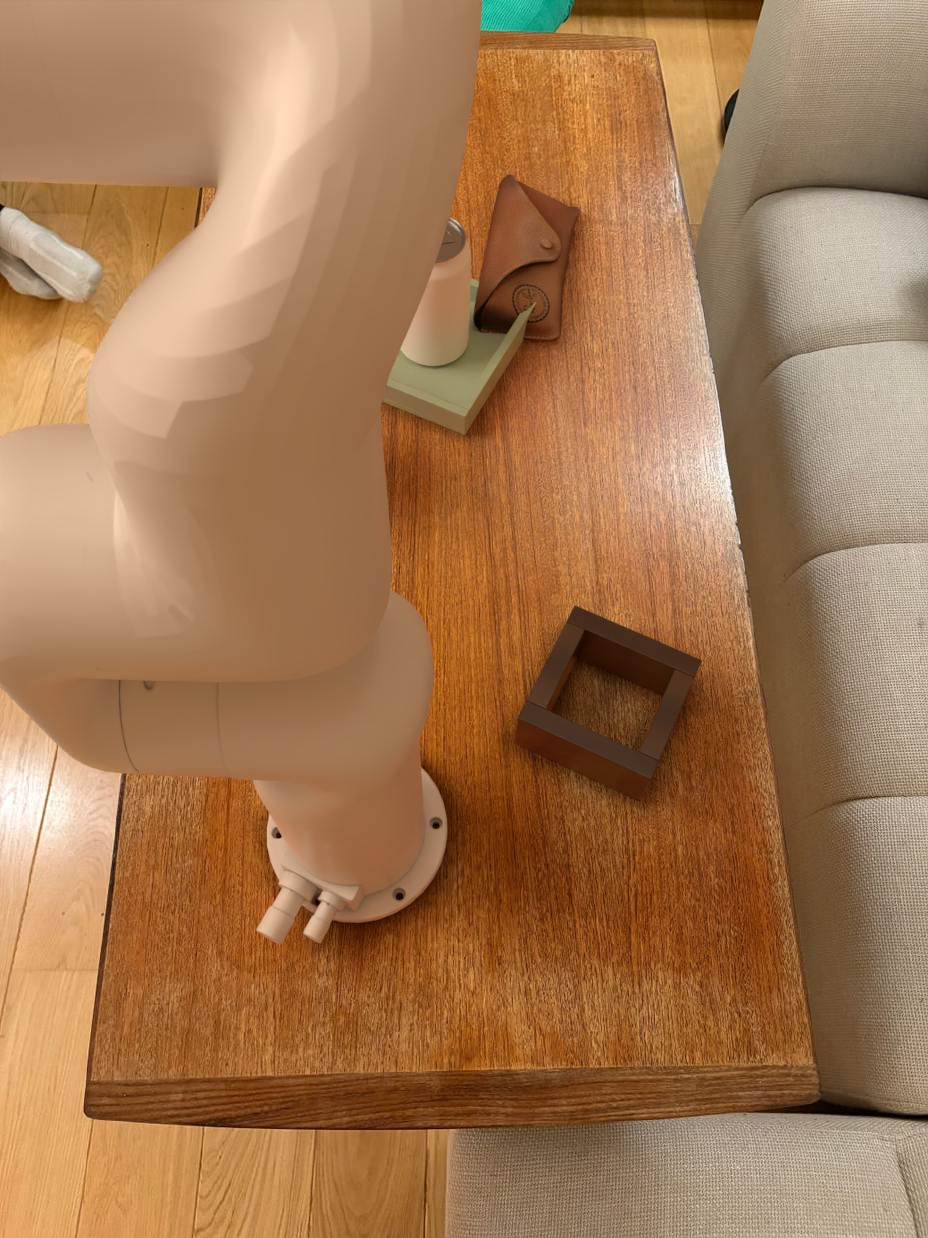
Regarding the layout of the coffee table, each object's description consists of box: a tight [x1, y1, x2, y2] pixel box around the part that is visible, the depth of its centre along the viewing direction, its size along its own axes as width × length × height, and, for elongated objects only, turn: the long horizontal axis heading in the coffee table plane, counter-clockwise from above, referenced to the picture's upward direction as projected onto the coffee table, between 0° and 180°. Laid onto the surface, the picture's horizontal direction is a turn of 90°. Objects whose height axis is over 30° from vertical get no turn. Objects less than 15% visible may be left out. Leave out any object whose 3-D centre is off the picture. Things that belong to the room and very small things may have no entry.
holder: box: [513, 605, 703, 802], centre depth 74 cm, size 10×10×5 cm
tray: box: [382, 277, 536, 436], centre depth 91 cm, size 15×15×3 cm
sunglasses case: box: [473, 174, 581, 342], centre depth 95 cm, size 18×7×7 cm
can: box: [401, 216, 472, 367], centre depth 86 cm, size 6×6×12 cm
